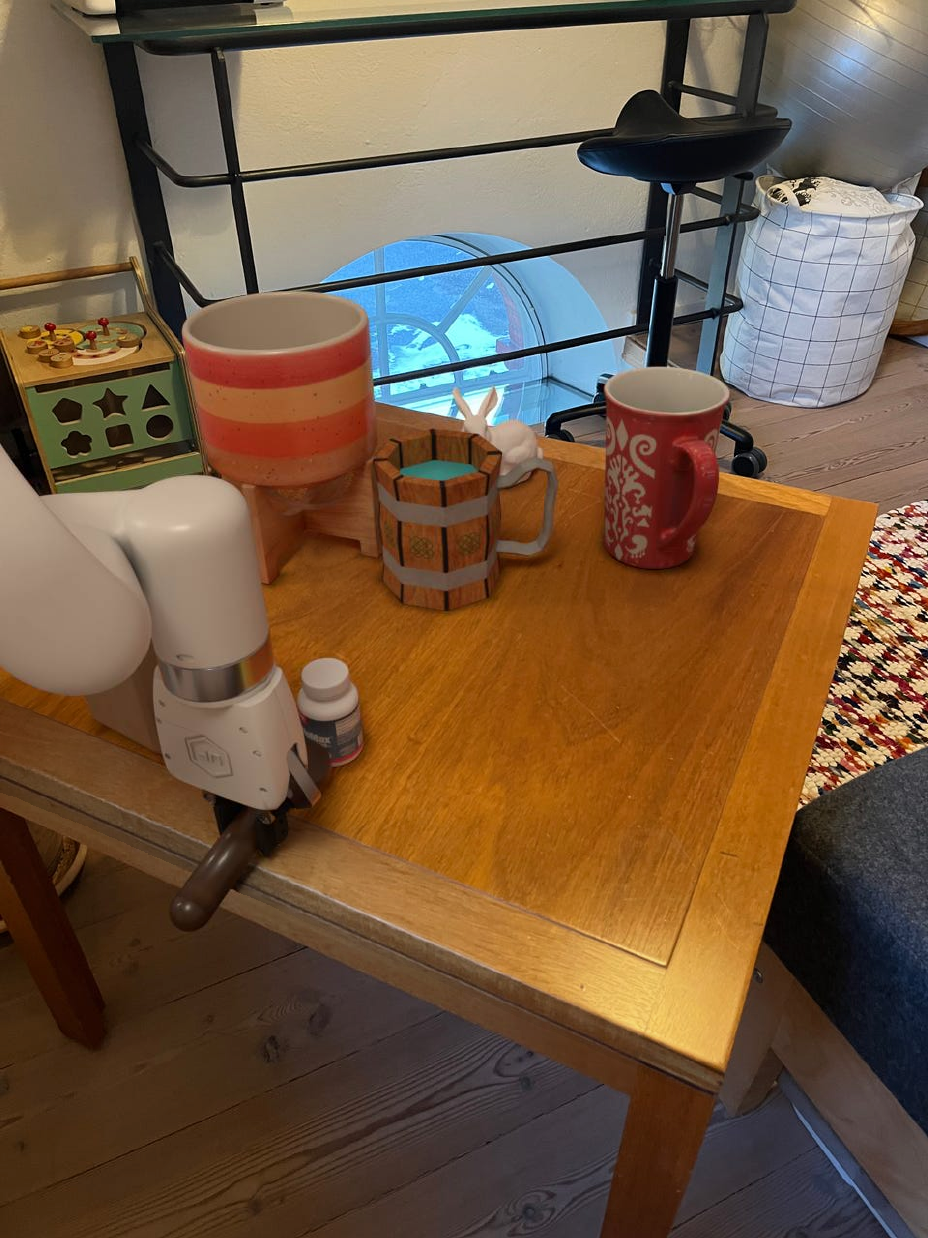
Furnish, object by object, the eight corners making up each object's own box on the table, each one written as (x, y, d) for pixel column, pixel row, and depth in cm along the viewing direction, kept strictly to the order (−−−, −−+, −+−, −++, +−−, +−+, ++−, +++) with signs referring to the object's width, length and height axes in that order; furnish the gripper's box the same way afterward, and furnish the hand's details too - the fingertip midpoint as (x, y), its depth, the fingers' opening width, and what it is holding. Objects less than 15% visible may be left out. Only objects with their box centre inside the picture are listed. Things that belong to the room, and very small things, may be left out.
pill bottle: (292, 750, 82) (279, 674, 76) (335, 719, 85) (325, 644, 80) (332, 778, 79) (322, 701, 74) (375, 745, 82) (368, 669, 77)
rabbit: (474, 499, 118) (474, 412, 111) (442, 469, 124) (439, 385, 117) (554, 478, 122) (559, 392, 115) (519, 450, 129) (521, 368, 122)
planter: (343, 601, 100) (316, 363, 84) (188, 568, 106) (135, 339, 90) (413, 514, 115) (402, 298, 99) (274, 489, 121) (243, 281, 105)
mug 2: (577, 523, 113) (588, 370, 101) (678, 512, 115) (701, 360, 103) (626, 609, 98) (646, 442, 86) (741, 595, 100) (776, 429, 88)
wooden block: (242, 698, 87) (204, 517, 75) (163, 762, 81) (108, 575, 69) (169, 663, 92) (122, 486, 80) (88, 721, 85) (23, 538, 73)
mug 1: (384, 615, 98) (374, 491, 89) (380, 548, 109) (370, 432, 100) (565, 602, 99) (573, 479, 90) (543, 537, 110) (548, 421, 101)
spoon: (212, 951, 65) (202, 929, 63) (154, 926, 67) (143, 904, 65) (343, 759, 78) (337, 736, 76) (291, 742, 80) (285, 719, 78)
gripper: (83, 657, 62) (142, 837, 73) (288, 724, 56) (319, 908, 67) (156, 598, 67) (201, 774, 78) (349, 654, 62) (368, 834, 73)
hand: (255, 834), depth 72 cm, fingers closed on spoon, 3 cm apart
